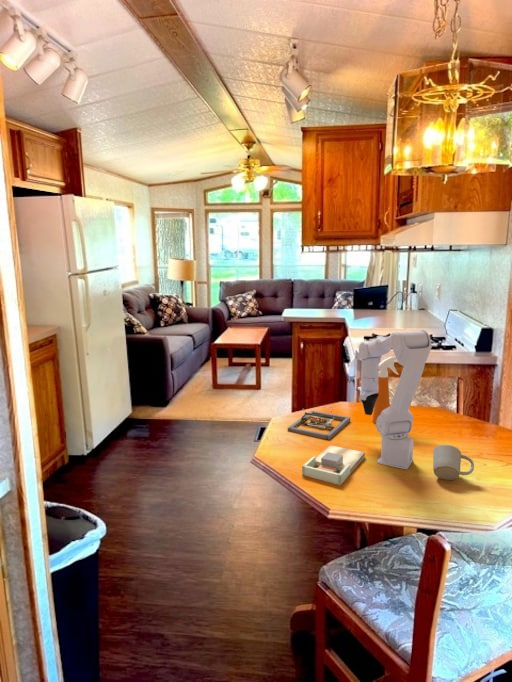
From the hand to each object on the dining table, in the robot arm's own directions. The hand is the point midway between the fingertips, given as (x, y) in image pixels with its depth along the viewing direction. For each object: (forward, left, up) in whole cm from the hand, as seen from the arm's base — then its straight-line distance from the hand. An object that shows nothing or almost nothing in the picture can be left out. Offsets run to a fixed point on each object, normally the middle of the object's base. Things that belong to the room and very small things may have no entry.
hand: (368, 414), depth 167 cm
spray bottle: (0, -22, -11) cm, 24 cm away
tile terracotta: (+3, +32, -10) cm, 34 cm away
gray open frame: (+20, -4, -10) cm, 23 cm away
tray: (+3, +32, -10) cm, 33 cm away
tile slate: (+2, +27, -8) cm, 28 cm away
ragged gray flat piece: (+21, -4, -10) cm, 24 cm away
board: (+3, +21, -10) cm, 23 cm away
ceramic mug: (-30, +14, -11) cm, 35 cm away
